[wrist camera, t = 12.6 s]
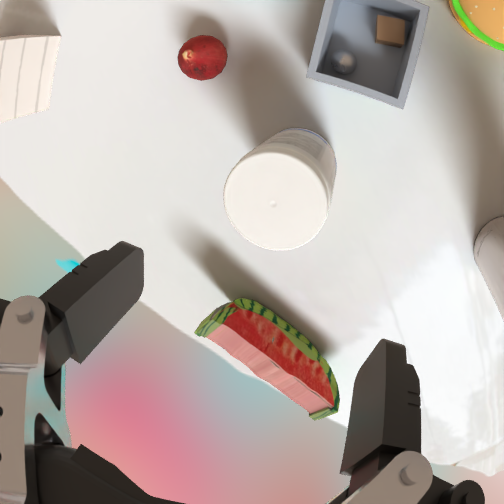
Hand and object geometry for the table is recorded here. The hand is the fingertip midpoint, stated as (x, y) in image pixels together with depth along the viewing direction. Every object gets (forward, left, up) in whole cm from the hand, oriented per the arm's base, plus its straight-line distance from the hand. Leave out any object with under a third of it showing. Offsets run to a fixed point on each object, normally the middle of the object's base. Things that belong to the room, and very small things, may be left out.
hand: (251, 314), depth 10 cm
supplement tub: (+3, +4, -32) cm, 33 cm away
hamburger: (-14, -25, -32) cm, 43 cm away
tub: (-1, -13, -32) cm, 35 cm away
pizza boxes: (+63, -5, -32) cm, 71 cm away
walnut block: (-3, -16, -31) cm, 35 cm away
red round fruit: (+17, -7, -32) cm, 37 cm away
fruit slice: (-3, +33, -32) cm, 46 cm away
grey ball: (+1, -10, -31) cm, 33 cm away
